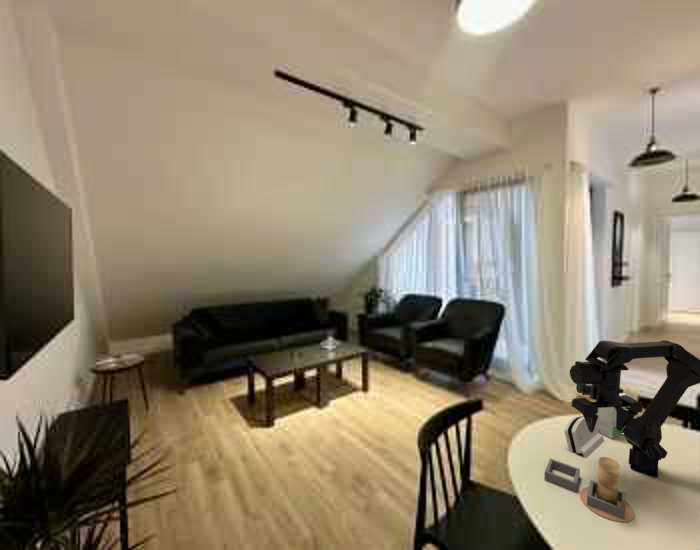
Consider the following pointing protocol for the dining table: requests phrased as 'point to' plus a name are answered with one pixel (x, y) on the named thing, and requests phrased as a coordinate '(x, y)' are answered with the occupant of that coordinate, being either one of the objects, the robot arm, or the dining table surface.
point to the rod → (608, 480)
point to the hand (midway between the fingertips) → (604, 431)
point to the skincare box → (608, 421)
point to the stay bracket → (607, 504)
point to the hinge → (581, 437)
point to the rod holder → (559, 479)
